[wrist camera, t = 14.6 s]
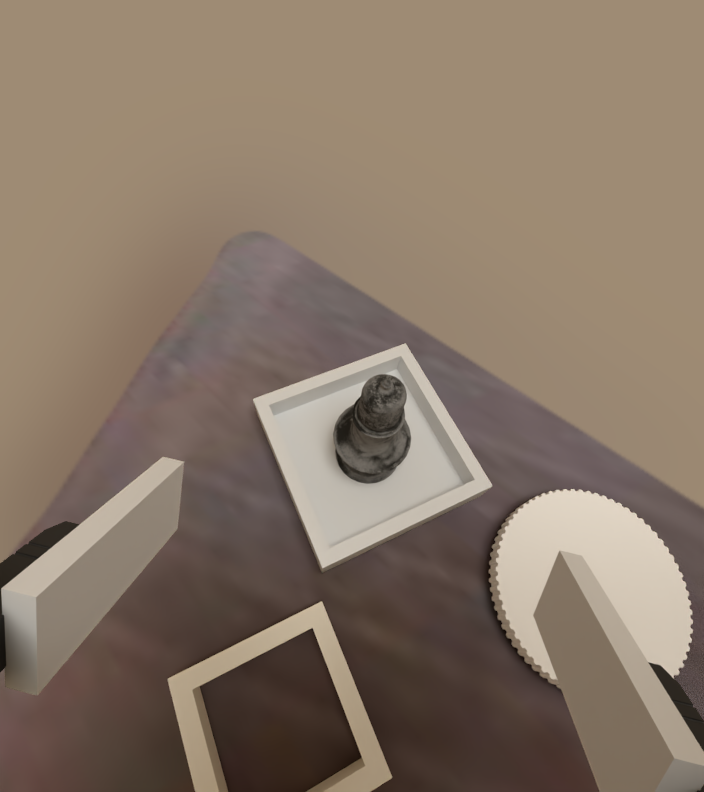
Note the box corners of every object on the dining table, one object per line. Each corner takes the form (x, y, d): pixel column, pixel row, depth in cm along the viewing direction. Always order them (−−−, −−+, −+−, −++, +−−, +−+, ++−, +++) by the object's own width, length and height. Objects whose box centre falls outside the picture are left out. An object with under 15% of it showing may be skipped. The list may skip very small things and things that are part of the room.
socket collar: (387, 768, 28) (392, 777, 26) (225, 870, 25) (218, 888, 24) (321, 602, 32) (321, 601, 30) (176, 675, 30) (167, 678, 28)
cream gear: (698, 589, 35) (724, 586, 33) (609, 751, 30) (633, 761, 27) (548, 464, 39) (562, 453, 36) (446, 588, 34) (456, 585, 31)
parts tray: (479, 496, 37) (492, 486, 34) (322, 573, 33) (322, 568, 30) (400, 361, 42) (405, 343, 39) (257, 414, 39) (252, 399, 36)
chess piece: (416, 467, 37) (457, 400, 26) (353, 500, 35) (369, 443, 24) (380, 408, 39) (404, 325, 28) (319, 437, 37) (320, 360, 27)
